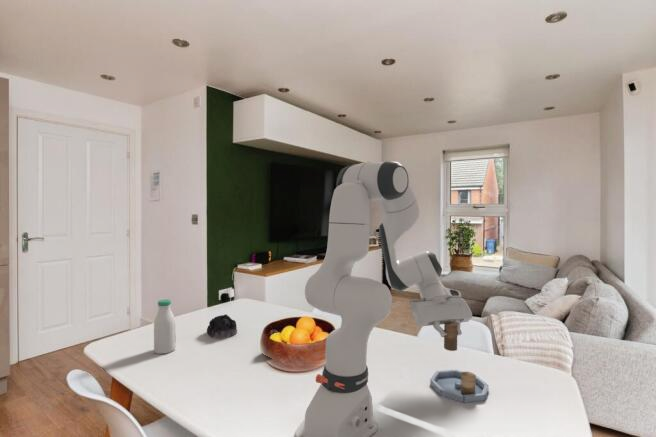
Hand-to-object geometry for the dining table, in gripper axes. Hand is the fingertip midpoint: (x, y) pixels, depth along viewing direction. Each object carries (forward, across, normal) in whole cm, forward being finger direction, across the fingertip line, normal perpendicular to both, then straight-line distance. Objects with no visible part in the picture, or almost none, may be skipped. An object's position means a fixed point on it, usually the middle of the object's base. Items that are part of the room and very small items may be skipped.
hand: (451, 335), depth 110 cm
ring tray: (+14, 0, +9) cm, 17 cm away
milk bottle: (-26, -94, +50) cm, 109 cm away
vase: (-17, -52, +40) cm, 68 cm away
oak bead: (+16, 0, +5) cm, 17 cm away
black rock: (-35, -72, +59) cm, 99 cm away
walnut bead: (+3, 0, +4) cm, 4 cm away
